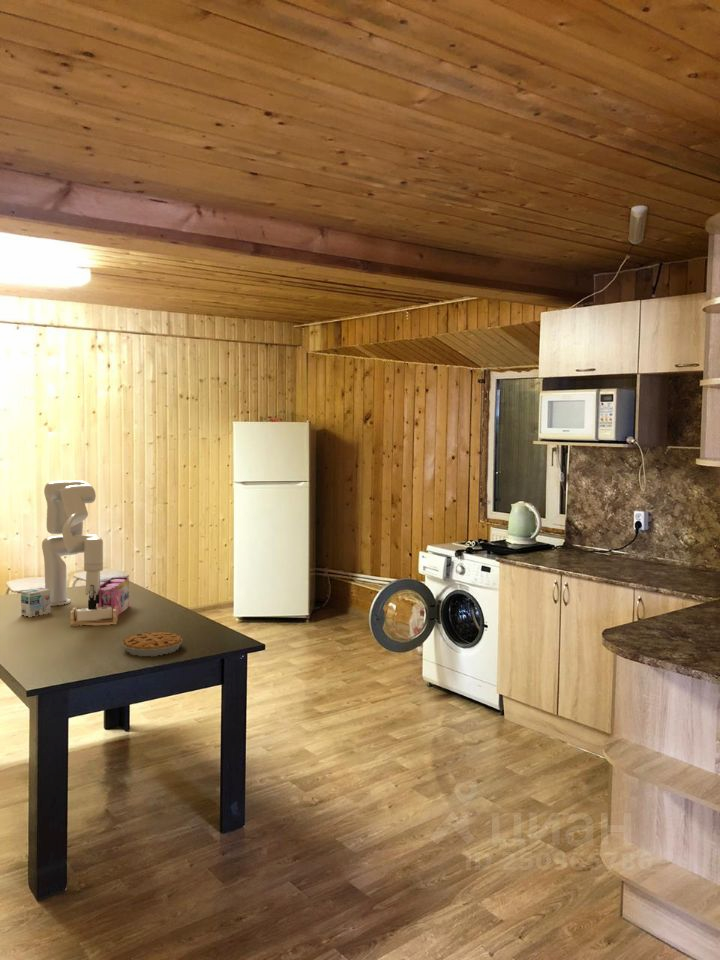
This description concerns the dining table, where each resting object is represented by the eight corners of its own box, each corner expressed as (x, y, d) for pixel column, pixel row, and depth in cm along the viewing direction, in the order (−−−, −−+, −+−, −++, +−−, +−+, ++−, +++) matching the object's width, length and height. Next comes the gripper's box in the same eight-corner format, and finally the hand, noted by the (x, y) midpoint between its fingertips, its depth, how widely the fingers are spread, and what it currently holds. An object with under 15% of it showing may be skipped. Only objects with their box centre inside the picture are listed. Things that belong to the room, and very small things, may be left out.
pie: (193, 650, 297) (193, 637, 297) (140, 662, 282) (140, 648, 282) (163, 638, 313) (163, 626, 312) (111, 649, 298) (111, 636, 297)
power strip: (76, 618, 334) (76, 609, 334) (110, 615, 340) (110, 606, 339) (77, 621, 330) (77, 611, 330) (112, 617, 336) (112, 608, 335)
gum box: (114, 619, 342) (114, 588, 341) (96, 619, 342) (95, 588, 341) (129, 606, 366) (129, 577, 365) (112, 606, 366) (112, 577, 365)
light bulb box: (29, 618, 343) (29, 593, 342) (20, 615, 346) (20, 591, 346) (51, 613, 352) (51, 589, 351) (42, 611, 355) (41, 587, 355)
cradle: (73, 621, 337) (73, 607, 337) (117, 619, 341) (117, 605, 341) (70, 626, 329) (70, 612, 329) (116, 624, 333) (115, 610, 332)
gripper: (86, 562, 341) (87, 601, 343) (81, 571, 324) (81, 612, 326) (105, 562, 343) (105, 601, 344) (100, 570, 326) (100, 611, 327)
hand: (93, 606), depth 335 cm, fingers open, 9 cm apart
